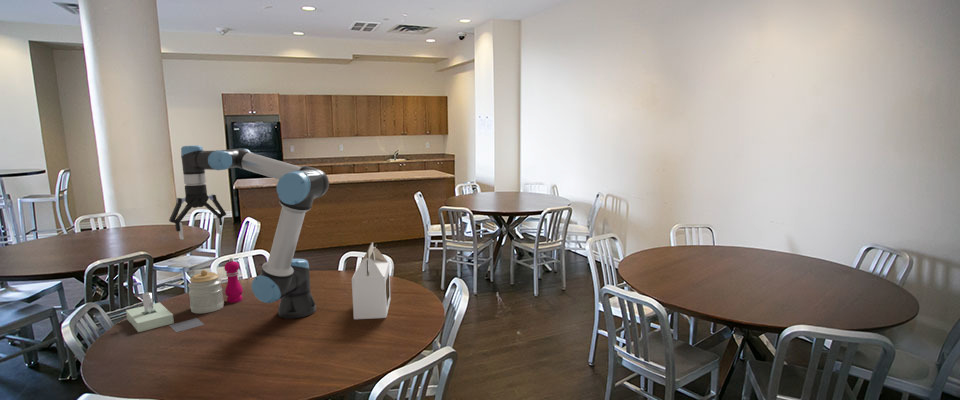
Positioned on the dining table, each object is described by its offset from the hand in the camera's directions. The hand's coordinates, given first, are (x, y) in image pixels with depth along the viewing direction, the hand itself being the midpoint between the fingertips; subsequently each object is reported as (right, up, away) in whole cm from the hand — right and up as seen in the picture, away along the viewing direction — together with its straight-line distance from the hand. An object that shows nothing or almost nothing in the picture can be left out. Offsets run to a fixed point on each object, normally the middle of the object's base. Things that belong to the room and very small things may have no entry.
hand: (200, 236), depth 199 cm
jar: (-5, -33, +15) cm, 37 cm away
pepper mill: (+1, -31, +25) cm, 40 cm away
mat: (-4, -36, -3) cm, 36 cm away
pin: (-21, -35, +1) cm, 41 cm away
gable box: (+67, -33, +13) cm, 76 cm away
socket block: (-21, -35, +1) cm, 41 cm away
